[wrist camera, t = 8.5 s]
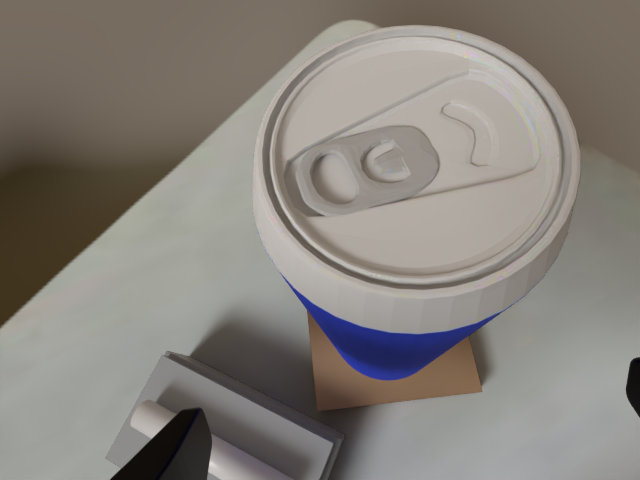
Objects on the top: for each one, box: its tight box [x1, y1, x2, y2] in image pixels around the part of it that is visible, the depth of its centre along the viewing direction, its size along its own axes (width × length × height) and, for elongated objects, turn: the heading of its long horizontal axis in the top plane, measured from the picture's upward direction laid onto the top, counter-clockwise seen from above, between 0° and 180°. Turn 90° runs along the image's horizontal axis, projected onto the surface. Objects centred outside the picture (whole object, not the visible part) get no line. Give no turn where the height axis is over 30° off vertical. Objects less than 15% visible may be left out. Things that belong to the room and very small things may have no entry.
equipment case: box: [105, 351, 345, 480], centre depth 17 cm, size 9×5×4 cm, turn 66°
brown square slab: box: [307, 310, 482, 411], centre depth 20 cm, size 8×8×1 cm
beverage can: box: [253, 25, 580, 380], centre depth 13 cm, size 5×5×15 cm
